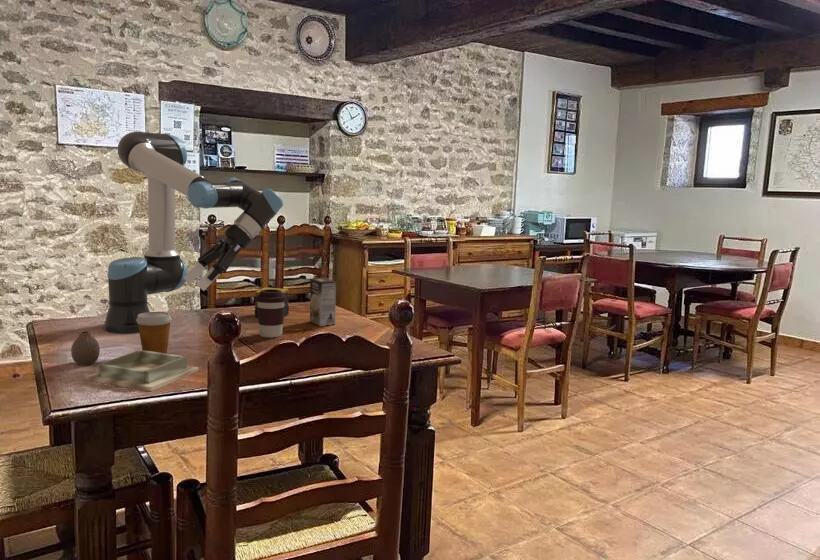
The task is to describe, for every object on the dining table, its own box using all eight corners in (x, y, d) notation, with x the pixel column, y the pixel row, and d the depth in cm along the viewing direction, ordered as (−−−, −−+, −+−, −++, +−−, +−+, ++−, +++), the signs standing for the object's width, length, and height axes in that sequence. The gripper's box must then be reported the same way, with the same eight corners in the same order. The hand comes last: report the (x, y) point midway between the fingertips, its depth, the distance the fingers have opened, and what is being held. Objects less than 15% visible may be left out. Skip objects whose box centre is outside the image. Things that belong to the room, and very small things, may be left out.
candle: (264, 312, 245) (264, 287, 243) (289, 314, 243) (289, 288, 242) (254, 318, 235) (254, 291, 233) (280, 320, 233) (280, 293, 232)
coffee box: (308, 321, 232) (309, 278, 230) (324, 319, 236) (325, 277, 233) (320, 326, 225) (320, 282, 222) (336, 325, 228) (337, 280, 226)
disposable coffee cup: (176, 357, 181) (175, 316, 179) (141, 361, 176) (140, 319, 174) (167, 349, 189) (166, 310, 187) (133, 353, 183) (132, 313, 182)
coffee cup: (278, 340, 204) (279, 294, 202) (250, 337, 206) (250, 292, 204) (290, 333, 214) (291, 289, 211) (263, 330, 216) (263, 287, 213)
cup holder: (85, 380, 159) (85, 364, 158) (137, 361, 176) (137, 347, 175) (151, 391, 153) (151, 375, 152) (198, 371, 170) (198, 356, 169)
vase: (81, 368, 168) (79, 336, 167) (66, 363, 172) (64, 332, 170) (105, 363, 174) (104, 331, 172) (90, 358, 177) (89, 327, 176)
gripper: (266, 243, 183) (215, 299, 177) (236, 237, 203) (190, 286, 197) (248, 225, 179) (196, 281, 173) (220, 220, 200) (172, 270, 193)
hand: (192, 284), depth 185 cm, fingers open, 13 cm apart
